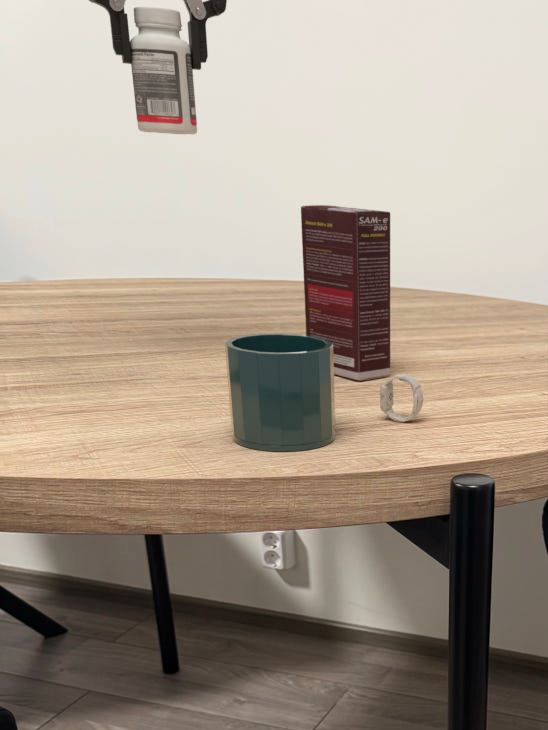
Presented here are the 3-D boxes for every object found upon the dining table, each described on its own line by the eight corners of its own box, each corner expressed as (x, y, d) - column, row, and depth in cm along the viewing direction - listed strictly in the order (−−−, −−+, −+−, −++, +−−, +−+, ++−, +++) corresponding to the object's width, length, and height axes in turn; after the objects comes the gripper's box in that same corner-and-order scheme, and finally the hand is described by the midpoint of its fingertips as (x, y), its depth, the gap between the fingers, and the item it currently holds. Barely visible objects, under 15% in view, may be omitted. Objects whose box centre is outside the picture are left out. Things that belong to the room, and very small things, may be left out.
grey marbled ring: (425, 420, 84) (426, 374, 82) (417, 425, 82) (417, 379, 80) (388, 415, 85) (387, 370, 83) (379, 421, 83) (378, 375, 81)
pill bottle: (166, 133, 92) (156, 13, 87) (209, 136, 90) (201, 13, 85) (125, 130, 87) (111, 4, 83) (169, 133, 85) (158, 4, 81)
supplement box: (393, 376, 99) (393, 210, 92) (358, 382, 96) (355, 211, 88) (339, 362, 104) (335, 204, 96) (304, 367, 101) (297, 204, 93)
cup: (240, 454, 73) (233, 355, 69) (226, 426, 79) (219, 334, 76) (345, 448, 75) (343, 352, 72) (322, 421, 82) (319, 332, 78)
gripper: (47, -200, 73) (78, 56, 80) (236, -168, 78) (248, 71, 85) (48, -175, 79) (77, 61, 87) (223, -146, 84) (236, 75, 92)
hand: (162, 65), depth 86 cm, fingers closed on pill bottle, 5 cm apart
